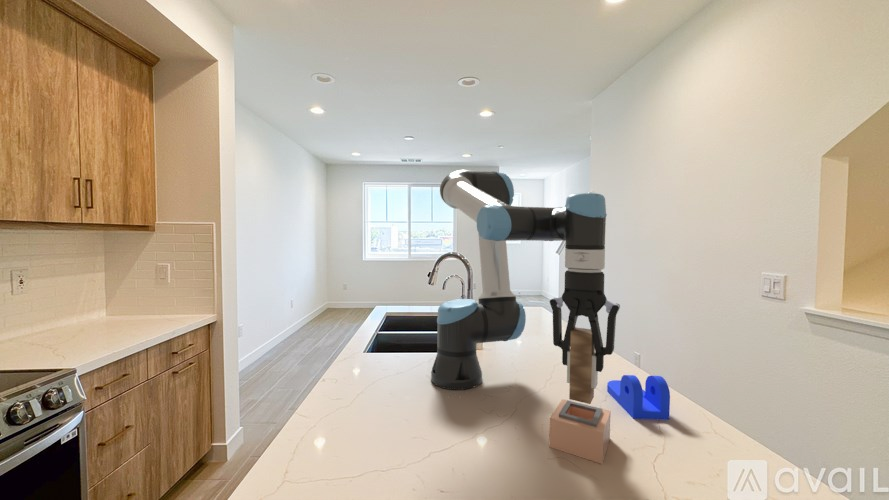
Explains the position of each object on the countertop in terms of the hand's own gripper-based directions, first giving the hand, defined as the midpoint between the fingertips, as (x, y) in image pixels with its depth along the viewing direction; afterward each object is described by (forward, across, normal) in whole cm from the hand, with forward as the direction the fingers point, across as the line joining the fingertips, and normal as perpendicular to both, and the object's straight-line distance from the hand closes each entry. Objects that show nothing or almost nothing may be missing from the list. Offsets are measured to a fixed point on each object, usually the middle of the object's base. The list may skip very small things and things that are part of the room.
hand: (582, 383), depth 73 cm
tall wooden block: (+3, 0, 0) cm, 3 cm away
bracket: (+13, +7, +27) cm, 31 cm away
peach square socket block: (+13, 0, 0) cm, 13 cm away
